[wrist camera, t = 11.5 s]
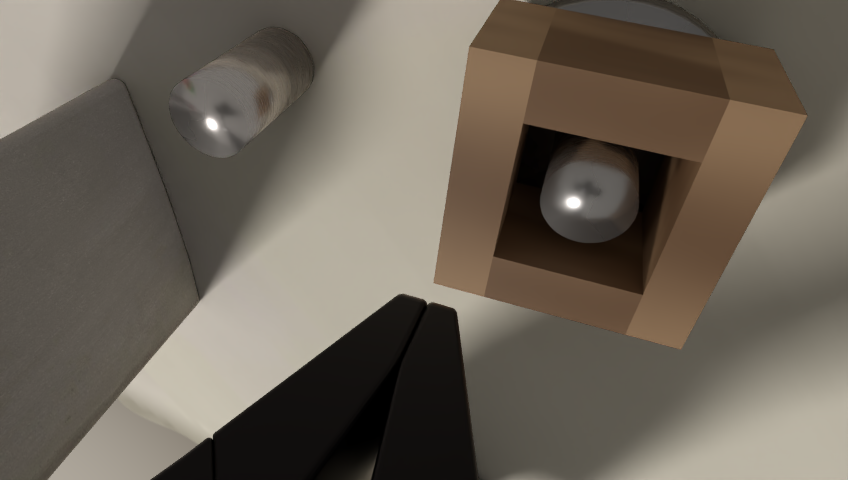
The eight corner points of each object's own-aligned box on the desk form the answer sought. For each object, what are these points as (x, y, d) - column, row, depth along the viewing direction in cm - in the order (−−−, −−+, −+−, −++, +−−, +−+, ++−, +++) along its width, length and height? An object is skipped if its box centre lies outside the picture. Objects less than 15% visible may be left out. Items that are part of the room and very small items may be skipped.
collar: (674, 261, 20) (680, 349, 16) (464, 209, 21) (433, 283, 18) (773, 49, 15) (807, 115, 12) (501, -3, 16) (469, 46, 13)
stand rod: (286, 110, 22) (218, 171, 18) (235, 57, 21) (155, 111, 17) (327, 69, 20) (262, 128, 17) (274, 11, 19) (195, 60, 16)
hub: (567, 268, 22) (554, 357, 19) (421, 102, 20) (375, 168, 16) (797, 154, 18) (836, 245, 14) (640, -78, 15) (641, -38, 12)
